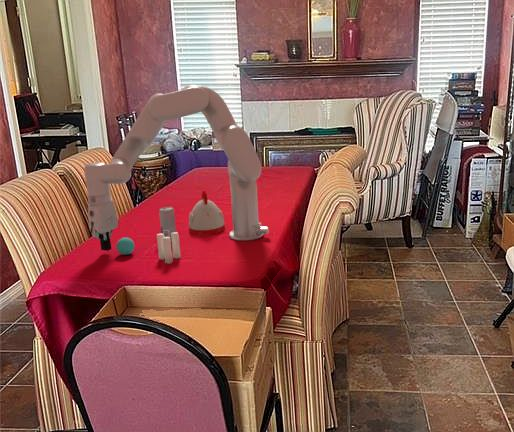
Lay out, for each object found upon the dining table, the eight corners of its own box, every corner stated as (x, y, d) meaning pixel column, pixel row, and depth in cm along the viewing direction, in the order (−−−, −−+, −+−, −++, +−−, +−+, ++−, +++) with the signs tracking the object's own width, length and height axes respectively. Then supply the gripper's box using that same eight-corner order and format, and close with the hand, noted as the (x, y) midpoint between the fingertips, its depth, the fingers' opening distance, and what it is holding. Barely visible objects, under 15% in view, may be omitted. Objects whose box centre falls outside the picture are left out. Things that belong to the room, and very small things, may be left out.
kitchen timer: (192, 236, 210) (188, 197, 206) (186, 226, 223) (183, 189, 218) (228, 231, 213) (225, 193, 209) (220, 222, 226) (218, 186, 222)
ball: (138, 252, 195) (136, 235, 193) (128, 258, 190) (126, 241, 188) (124, 250, 197) (122, 234, 196) (114, 256, 192) (111, 239, 190)
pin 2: (181, 256, 189) (179, 232, 186) (178, 258, 186) (175, 234, 184) (175, 255, 190) (173, 231, 187) (172, 258, 187) (169, 234, 185)
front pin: (167, 257, 188) (165, 233, 186) (163, 260, 186) (161, 235, 184) (161, 257, 189) (159, 233, 187) (157, 259, 187) (155, 235, 185)
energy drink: (169, 236, 210) (166, 205, 207) (179, 238, 207) (176, 207, 204) (159, 240, 206) (155, 209, 203) (168, 242, 203) (165, 211, 200)
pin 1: (173, 261, 184) (171, 237, 182) (170, 264, 182) (167, 239, 180) (167, 260, 185) (165, 236, 183) (163, 263, 183) (161, 238, 181)
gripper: (93, 205, 182) (100, 258, 187) (122, 194, 195) (128, 244, 200) (75, 203, 185) (83, 255, 190) (105, 193, 198) (111, 242, 203)
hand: (106, 249), depth 195 cm, fingers closed
